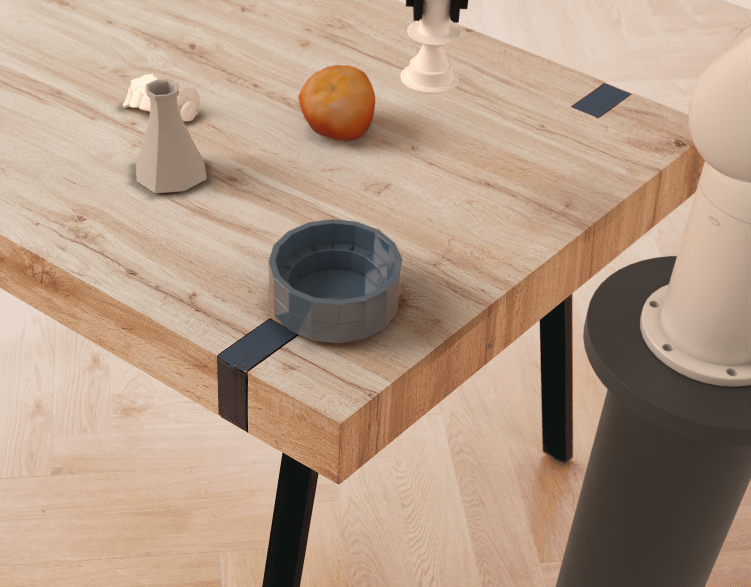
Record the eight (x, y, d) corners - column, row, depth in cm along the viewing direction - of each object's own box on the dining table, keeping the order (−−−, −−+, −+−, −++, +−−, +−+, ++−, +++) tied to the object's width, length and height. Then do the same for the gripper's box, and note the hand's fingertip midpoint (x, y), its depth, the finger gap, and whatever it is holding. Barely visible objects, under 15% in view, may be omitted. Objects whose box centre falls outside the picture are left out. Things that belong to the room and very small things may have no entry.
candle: (466, 92, 96) (481, -35, 88) (408, 97, 95) (418, -32, 87) (449, 62, 100) (462, -63, 92) (394, 66, 99) (402, -60, 91)
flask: (124, 164, 109) (112, 77, 103) (191, 147, 112) (183, 61, 105) (149, 203, 105) (139, 114, 98) (218, 183, 107) (212, 96, 101)
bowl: (420, 289, 97) (424, 246, 93) (358, 365, 89) (359, 321, 86) (314, 248, 100) (314, 205, 97) (246, 317, 93) (243, 273, 90)
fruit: (396, 103, 117) (382, 64, 110) (366, 165, 115) (349, 129, 108) (332, 83, 120) (313, 43, 112) (301, 143, 118) (280, 107, 111)
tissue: (172, 134, 114) (169, 103, 111) (118, 109, 117) (113, 78, 114) (207, 112, 117) (205, 81, 115) (153, 88, 120) (150, 57, 118)
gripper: (346, -200, 78) (340, 31, 90) (568, -188, 78) (532, 40, 91) (349, -231, 83) (343, -10, 96) (556, -220, 84) (524, -1, 96)
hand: (435, 12), depth 93 cm, fingers closed on candle, 2 cm apart
